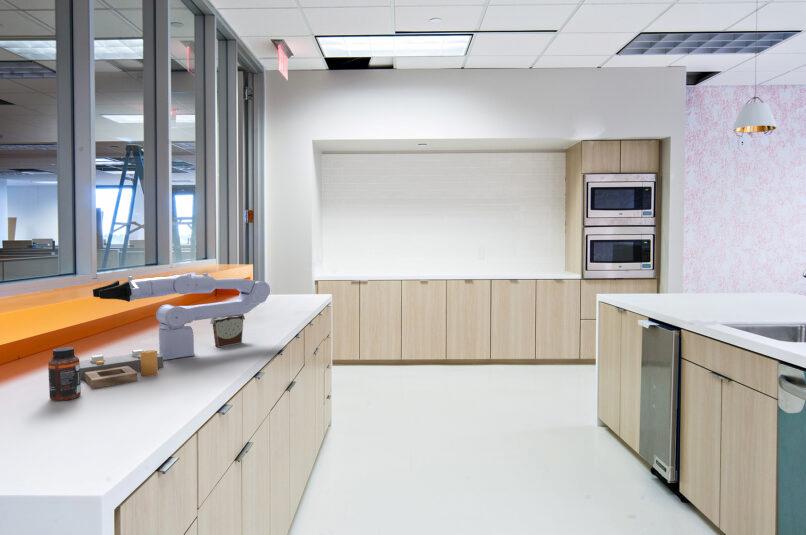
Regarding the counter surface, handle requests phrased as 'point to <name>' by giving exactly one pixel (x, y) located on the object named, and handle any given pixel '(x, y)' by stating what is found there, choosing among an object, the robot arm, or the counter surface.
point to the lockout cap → (149, 363)
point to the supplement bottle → (64, 375)
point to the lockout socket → (111, 376)
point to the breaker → (136, 352)
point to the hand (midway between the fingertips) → (96, 294)
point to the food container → (228, 330)
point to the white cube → (97, 358)
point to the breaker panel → (115, 363)
